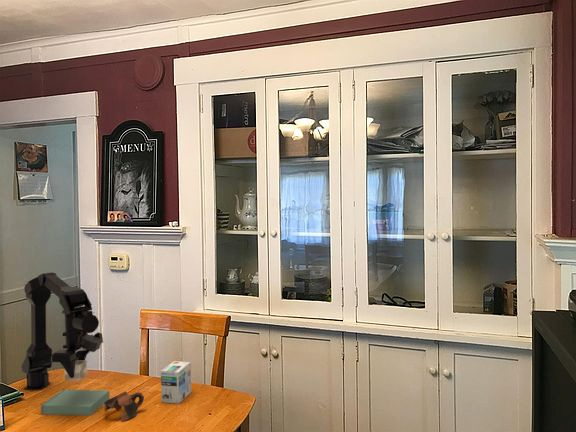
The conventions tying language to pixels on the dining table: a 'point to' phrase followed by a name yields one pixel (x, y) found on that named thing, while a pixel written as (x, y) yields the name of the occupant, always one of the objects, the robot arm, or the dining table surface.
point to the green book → (75, 402)
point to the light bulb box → (176, 382)
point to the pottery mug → (125, 404)
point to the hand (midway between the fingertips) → (76, 374)
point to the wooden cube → (78, 371)
